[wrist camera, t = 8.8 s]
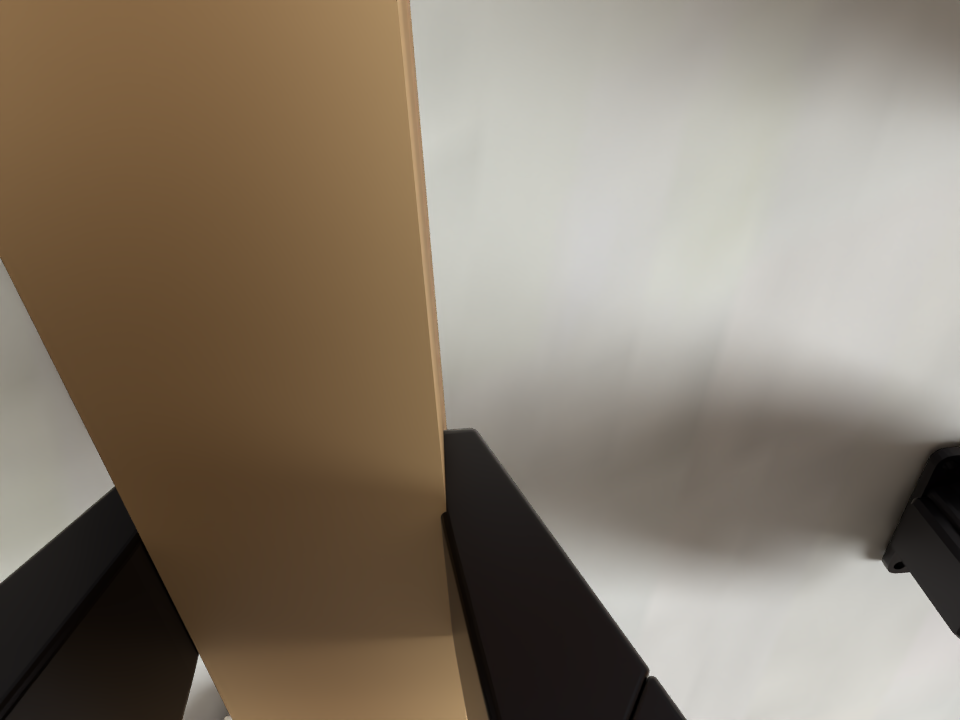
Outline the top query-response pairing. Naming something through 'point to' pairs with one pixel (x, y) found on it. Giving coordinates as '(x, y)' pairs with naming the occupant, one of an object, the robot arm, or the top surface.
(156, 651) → the robot arm
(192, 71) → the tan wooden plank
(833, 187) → the top surface
